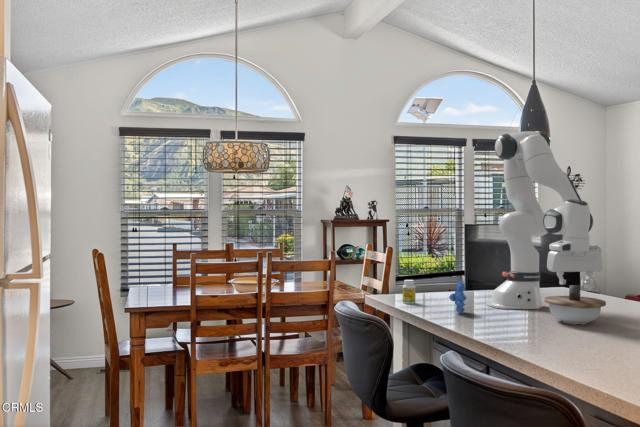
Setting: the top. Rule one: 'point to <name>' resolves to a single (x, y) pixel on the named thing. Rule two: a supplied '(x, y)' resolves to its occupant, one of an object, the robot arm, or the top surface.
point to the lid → (575, 299)
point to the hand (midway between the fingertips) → (574, 284)
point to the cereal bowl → (575, 313)
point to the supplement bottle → (409, 292)
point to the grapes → (459, 297)
